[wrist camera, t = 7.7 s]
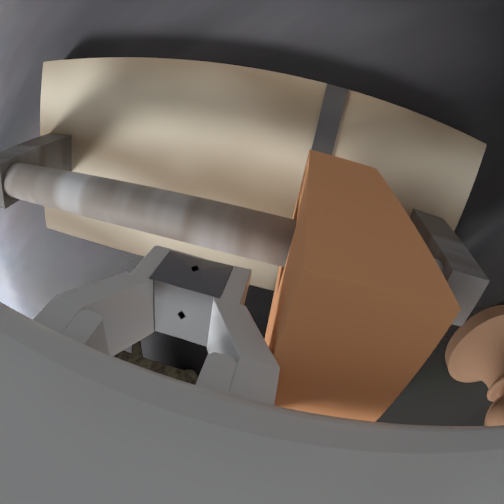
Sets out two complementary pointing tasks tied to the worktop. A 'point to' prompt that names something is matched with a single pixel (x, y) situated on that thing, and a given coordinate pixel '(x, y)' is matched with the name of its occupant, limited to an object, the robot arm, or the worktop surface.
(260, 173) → the rod stand
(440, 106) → the worktop surface
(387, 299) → the orange rectangular block
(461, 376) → the door knob
